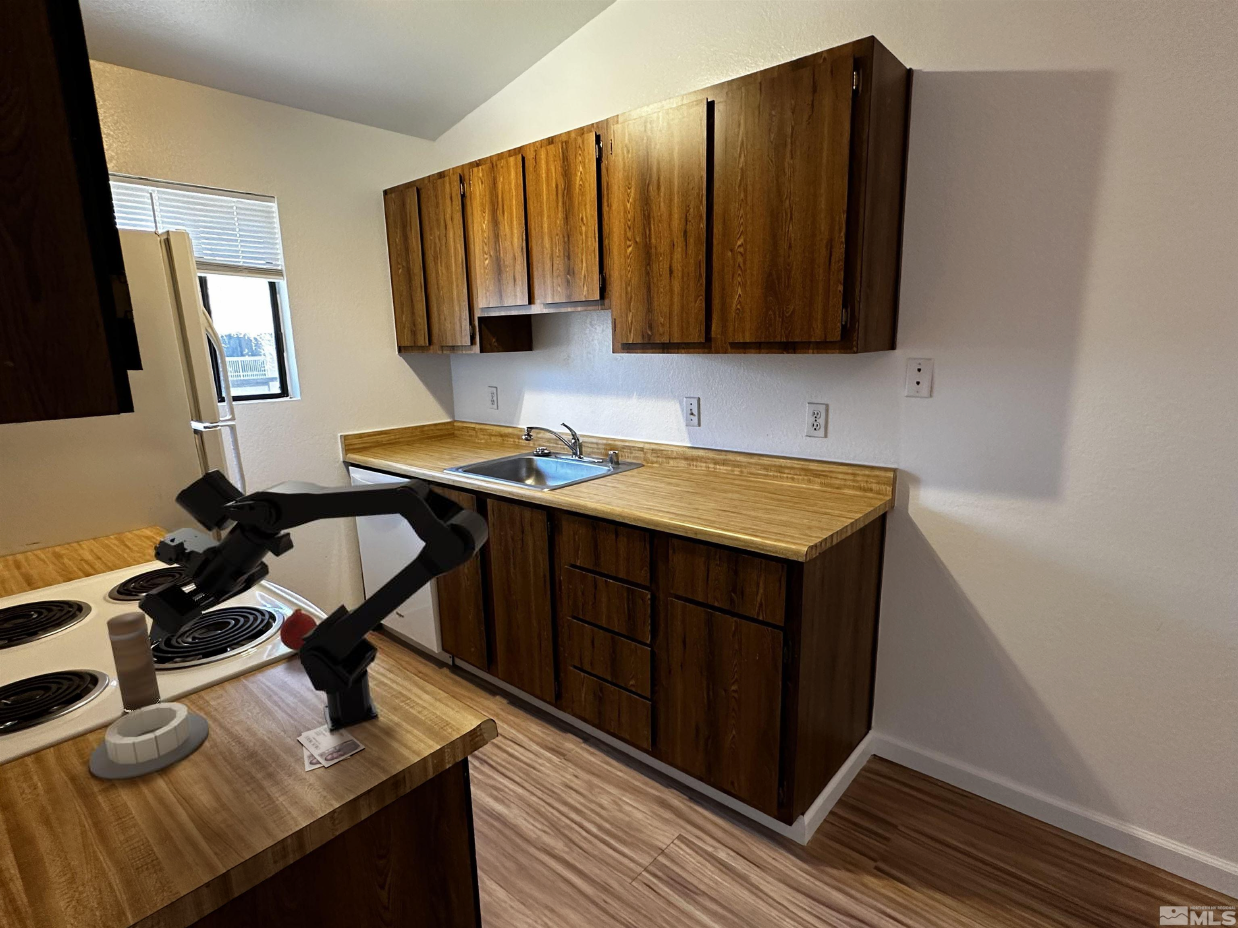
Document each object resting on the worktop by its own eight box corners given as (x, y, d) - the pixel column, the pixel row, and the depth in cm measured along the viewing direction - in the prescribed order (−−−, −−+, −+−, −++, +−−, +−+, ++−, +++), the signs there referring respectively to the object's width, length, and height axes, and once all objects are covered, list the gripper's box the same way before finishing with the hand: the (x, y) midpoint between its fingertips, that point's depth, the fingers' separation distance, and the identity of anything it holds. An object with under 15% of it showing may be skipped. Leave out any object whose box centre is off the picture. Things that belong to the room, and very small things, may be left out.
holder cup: (208, 754, 83) (204, 730, 82) (81, 793, 76) (75, 767, 75) (209, 706, 94) (205, 684, 93) (98, 736, 87) (93, 712, 86)
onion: (304, 661, 106) (299, 617, 104) (275, 658, 107) (269, 614, 105) (327, 644, 112) (322, 602, 110) (298, 641, 113) (293, 600, 111)
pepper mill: (159, 707, 94) (143, 620, 91) (121, 717, 91) (104, 628, 88) (161, 692, 97) (146, 608, 94) (125, 701, 95) (108, 616, 92)
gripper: (240, 494, 96) (183, 561, 99) (139, 534, 78) (73, 614, 81) (295, 544, 97) (237, 609, 100) (208, 595, 79) (141, 672, 82)
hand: (178, 623), depth 91 cm, fingers open, 9 cm apart
